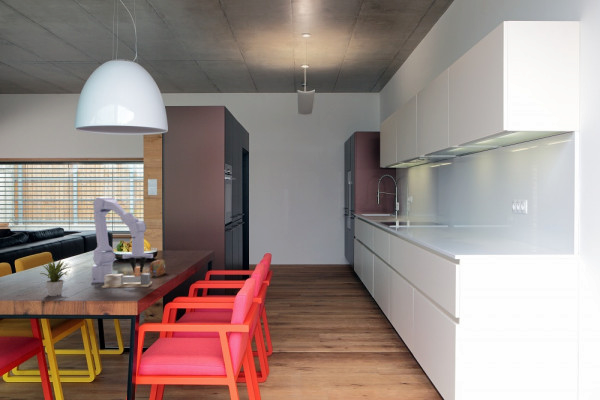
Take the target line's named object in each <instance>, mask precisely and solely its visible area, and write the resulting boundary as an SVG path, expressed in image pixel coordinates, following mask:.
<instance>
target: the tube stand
mask: <svg viewBox="0 0 600 400" xmlns="http://www.w3.org/2000/svg"><path fill="white" fill-rule="evenodd" d="M122 276H125V275H124V273H112V274H107V275H105V276H104V283H103V284H104V285H102V286H101V288H102V289H104V288H105V289H106V288H143V287H148V288H149V286H151V285H152V284H153V281H150V283H149V284H148V285H141V282H139V283H122Z"/></svg>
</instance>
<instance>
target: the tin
mask: <svg viewBox="0 0 600 400" xmlns="http://www.w3.org/2000/svg"><path fill="white" fill-rule="evenodd" d="M166 270H167V262H166V260H164V259H158V260H154V261H152V262H150V263H149V273H150V276H152V277H159V276H161V275H164V274H165V273H166Z"/></svg>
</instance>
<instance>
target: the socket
mask: <svg viewBox="0 0 600 400" xmlns="http://www.w3.org/2000/svg"><path fill="white" fill-rule="evenodd" d="M150 282H151V274H150V272H142V273H141V285H148V284H149V283H150Z"/></svg>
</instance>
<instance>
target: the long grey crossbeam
mask: <svg viewBox="0 0 600 400" xmlns="http://www.w3.org/2000/svg"><path fill="white" fill-rule="evenodd" d="M141 275H142V273H140V266H136V267H135V273H134V275H124V276H122V283H139V282H141Z"/></svg>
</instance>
